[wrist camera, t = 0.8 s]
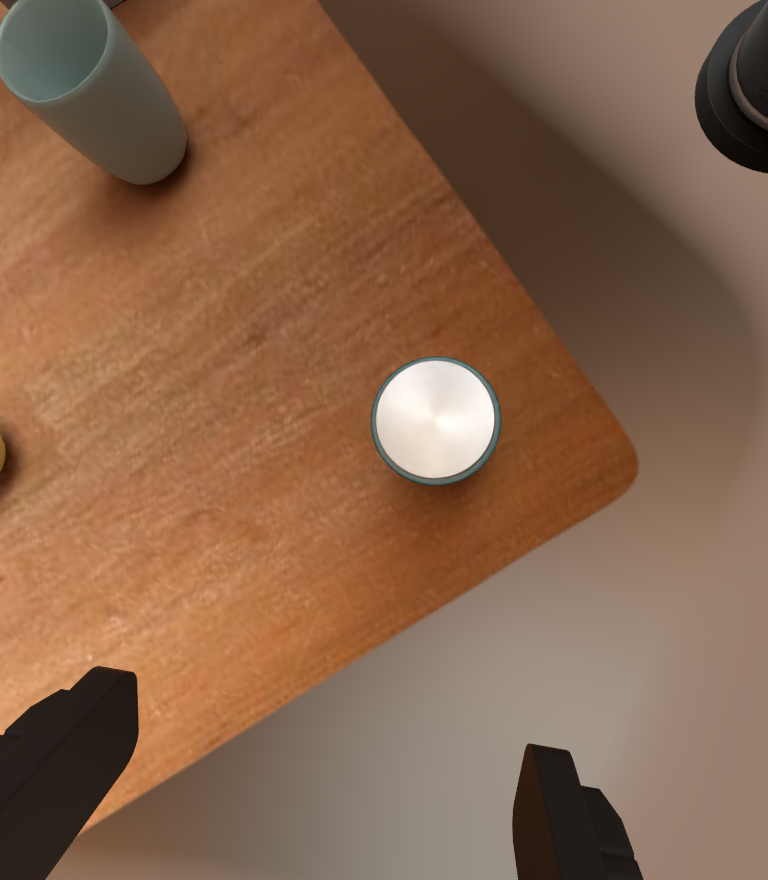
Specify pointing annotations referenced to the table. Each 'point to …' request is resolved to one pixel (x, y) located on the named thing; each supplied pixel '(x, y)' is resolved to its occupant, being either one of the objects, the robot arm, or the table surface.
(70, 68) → the cup
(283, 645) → the table surface
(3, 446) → the tennis ball
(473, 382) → the drink can
